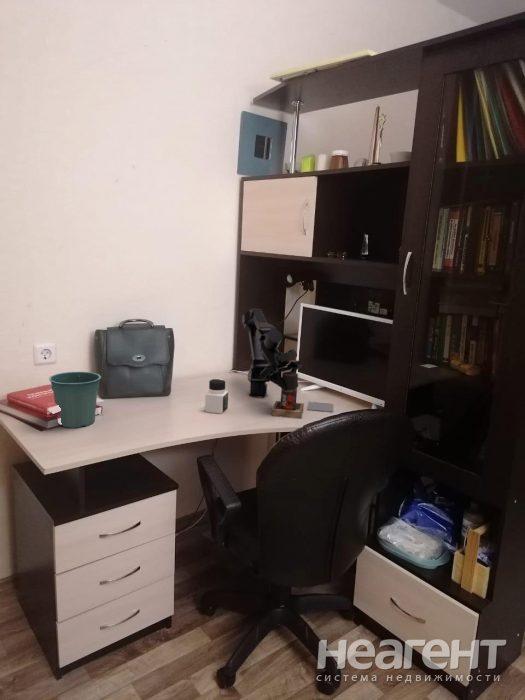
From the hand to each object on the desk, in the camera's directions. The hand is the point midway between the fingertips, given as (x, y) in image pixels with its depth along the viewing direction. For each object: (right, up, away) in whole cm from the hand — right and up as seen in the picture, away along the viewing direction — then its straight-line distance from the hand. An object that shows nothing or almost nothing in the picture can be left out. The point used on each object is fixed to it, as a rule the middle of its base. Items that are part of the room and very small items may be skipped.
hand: (292, 388), depth 188 cm
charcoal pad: (+12, -8, +11) cm, 18 cm away
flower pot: (-75, -10, -17) cm, 78 cm away
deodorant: (-1, -9, +3) cm, 10 cm away
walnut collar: (-1, -9, +3) cm, 10 cm away
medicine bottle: (-29, -9, +2) cm, 30 cm away
